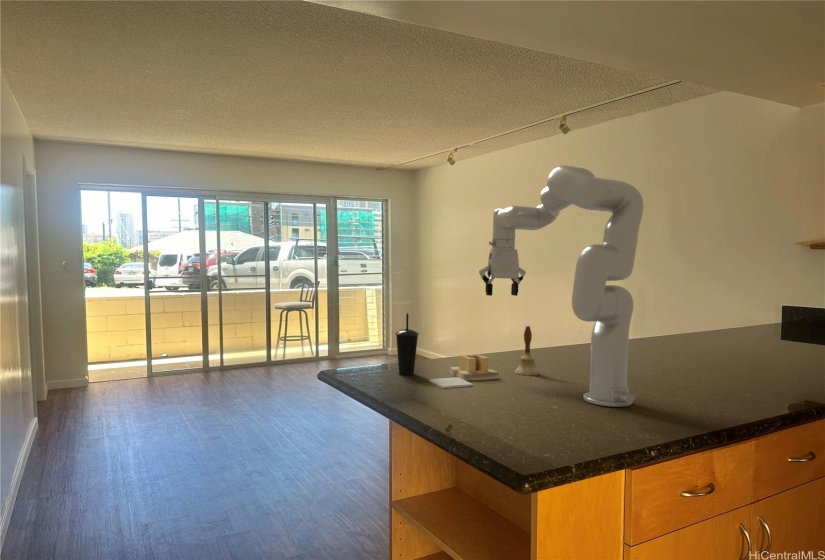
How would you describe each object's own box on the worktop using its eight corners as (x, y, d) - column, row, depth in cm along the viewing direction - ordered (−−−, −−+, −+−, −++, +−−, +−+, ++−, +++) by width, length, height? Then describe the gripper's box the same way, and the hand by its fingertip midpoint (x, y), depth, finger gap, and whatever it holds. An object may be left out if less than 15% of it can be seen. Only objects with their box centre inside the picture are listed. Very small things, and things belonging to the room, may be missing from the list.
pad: (472, 386, 162) (472, 384, 162) (442, 388, 158) (442, 386, 158) (458, 379, 171) (458, 377, 171) (429, 381, 168) (429, 379, 168)
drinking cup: (418, 372, 181) (420, 312, 181) (416, 376, 174) (418, 314, 173) (396, 371, 182) (397, 312, 181) (393, 375, 174) (394, 314, 174)
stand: (498, 378, 173) (499, 358, 173) (465, 380, 169) (465, 359, 169) (480, 371, 185) (480, 352, 184) (448, 373, 180) (449, 353, 180)
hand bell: (541, 375, 179) (543, 328, 178) (516, 375, 179) (517, 327, 179) (536, 370, 187) (537, 325, 187) (512, 370, 187) (513, 324, 187)
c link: (488, 371, 175) (488, 357, 175) (468, 372, 172) (469, 358, 172) (477, 367, 181) (477, 354, 181) (458, 368, 179) (459, 355, 179)
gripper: (485, 244, 176) (484, 296, 177) (531, 245, 182) (529, 296, 183) (475, 244, 183) (474, 294, 184) (520, 245, 189) (518, 294, 190)
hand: (501, 295), depth 184 cm, fingers open, 9 cm apart
